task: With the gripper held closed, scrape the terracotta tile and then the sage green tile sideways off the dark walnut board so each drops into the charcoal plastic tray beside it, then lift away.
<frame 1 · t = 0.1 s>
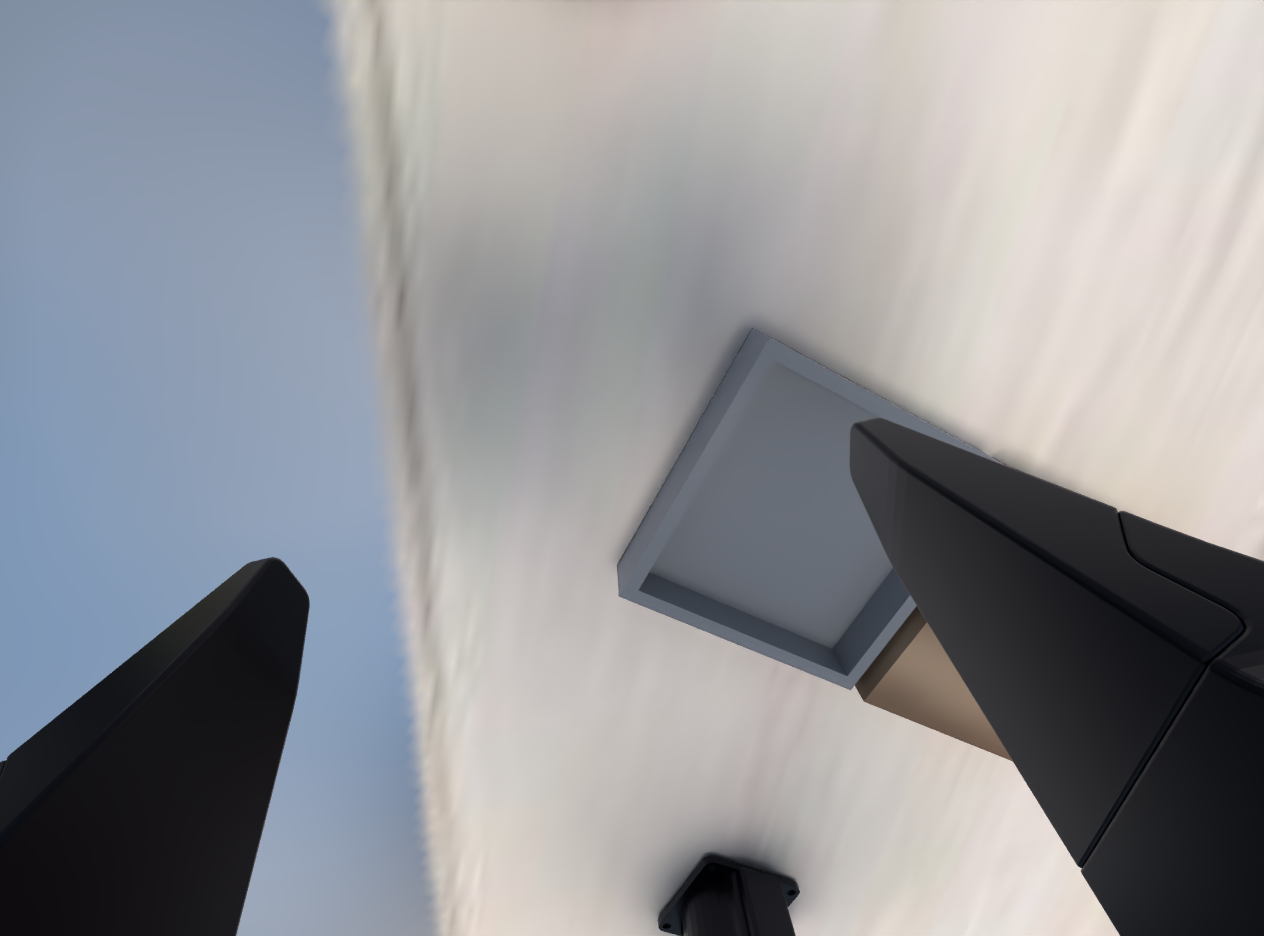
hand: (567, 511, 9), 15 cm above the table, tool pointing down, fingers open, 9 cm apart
walnut board: (1021, 616, 30), on the table
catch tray: (796, 510, 27), on the table
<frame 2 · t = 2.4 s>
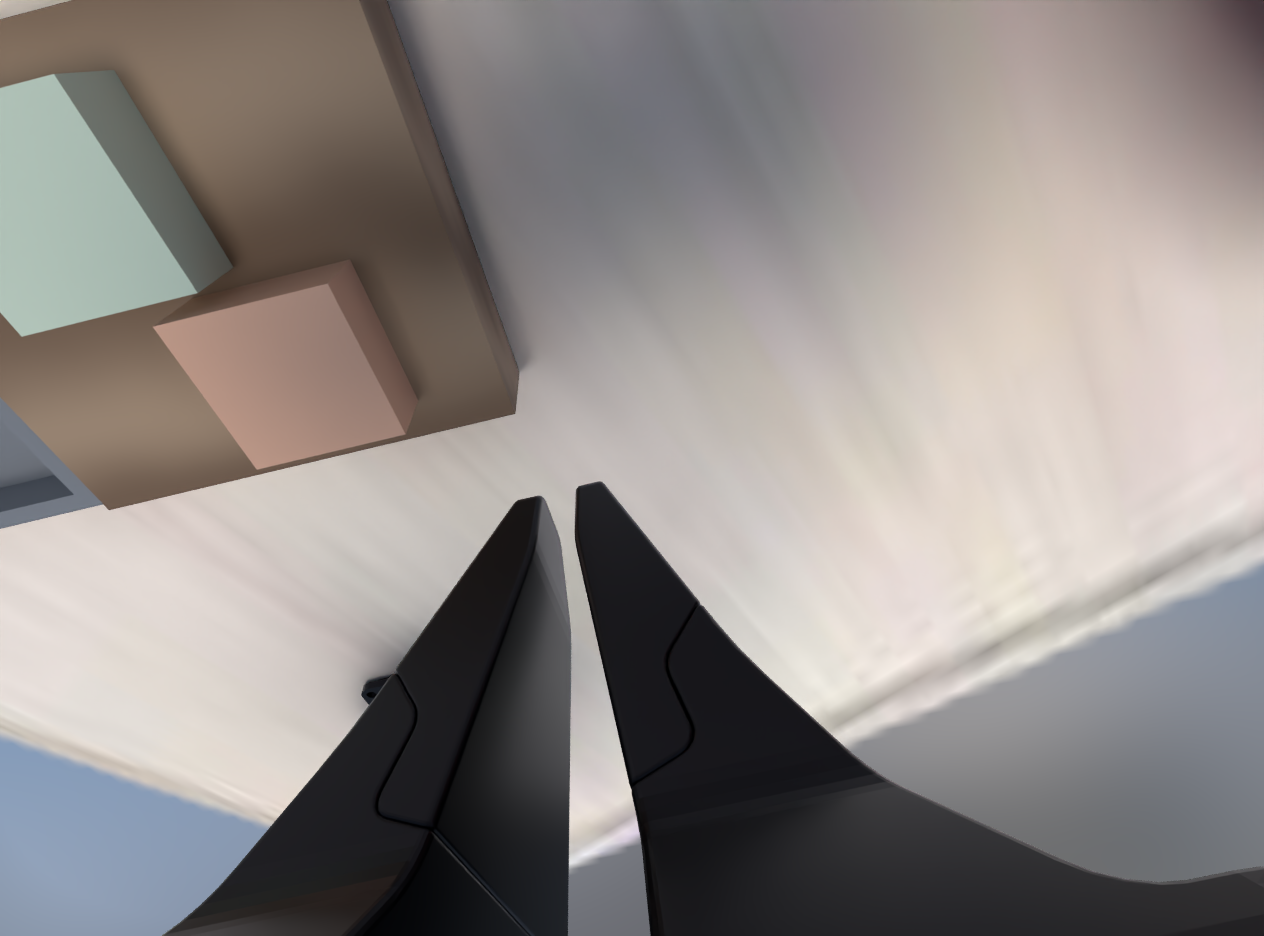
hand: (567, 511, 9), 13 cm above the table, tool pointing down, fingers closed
walnut board: (241, 255, 19), on the table
terracotta tile: (313, 353, 18), point 3 cm above the table, touching walnut board
sage tile: (92, 199, 15), point 3 cm above the table, touching walnut board
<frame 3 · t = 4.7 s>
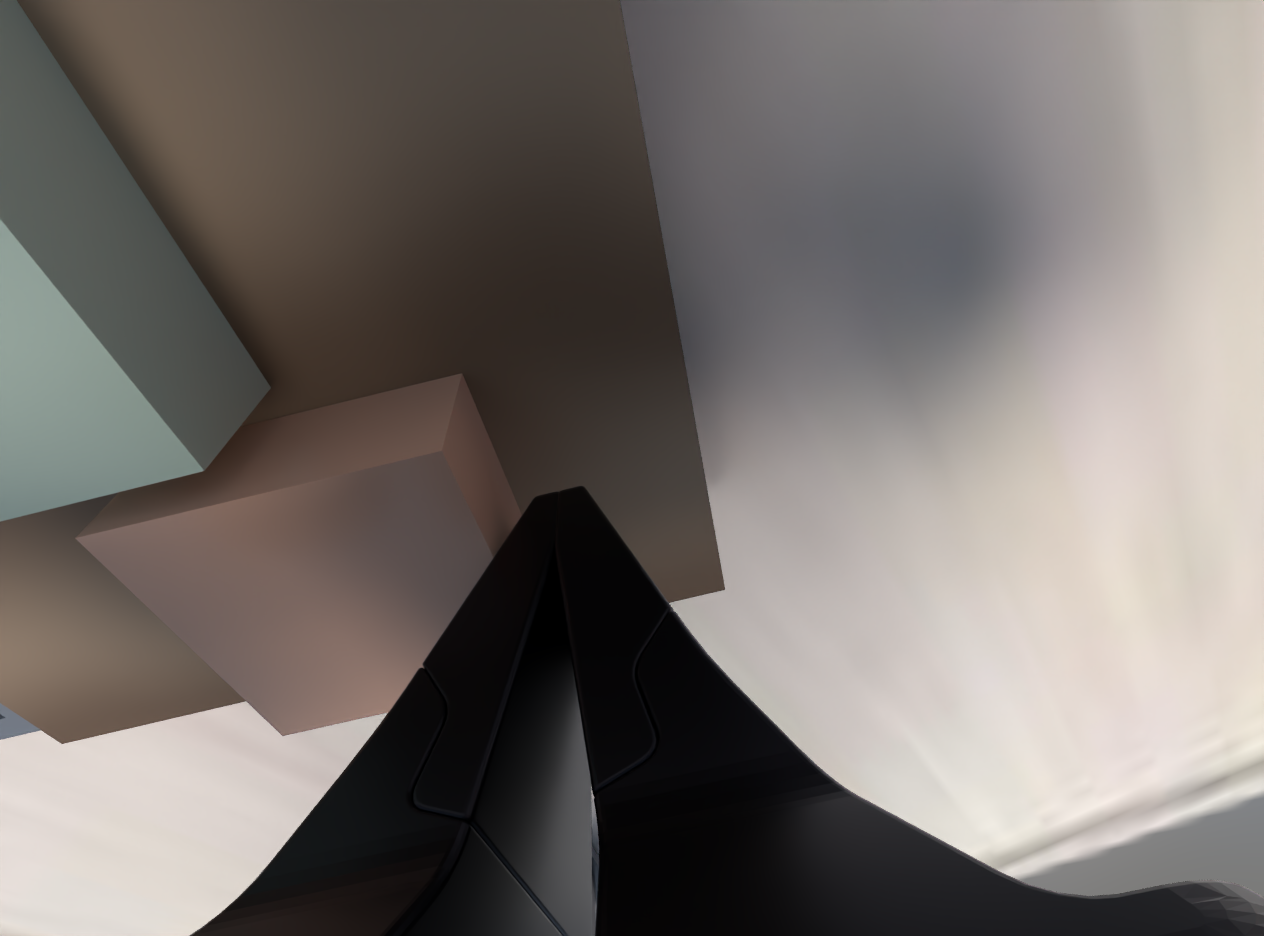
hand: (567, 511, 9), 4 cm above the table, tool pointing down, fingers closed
walnut board: (275, 338, 11), on the table
terracotta tile: (381, 523, 10), point 3 cm above the table, touching gripper
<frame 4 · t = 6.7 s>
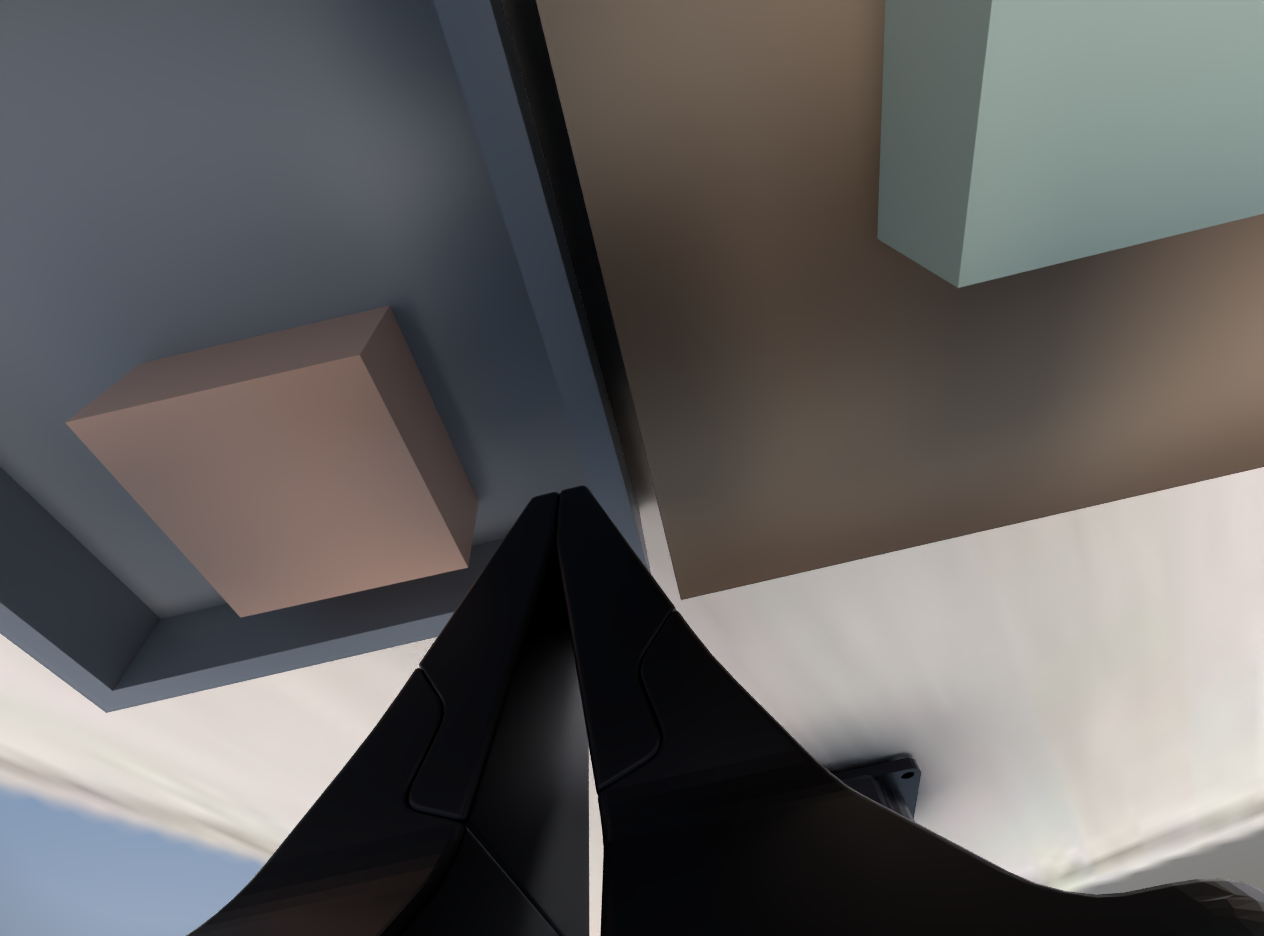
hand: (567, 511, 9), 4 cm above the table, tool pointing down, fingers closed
walnut board: (983, 162, 11), on the table
terracotta tile: (291, 504, 10), point 3 cm above the table, tilted 180°, touching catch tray
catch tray: (258, 343, 11), on the table
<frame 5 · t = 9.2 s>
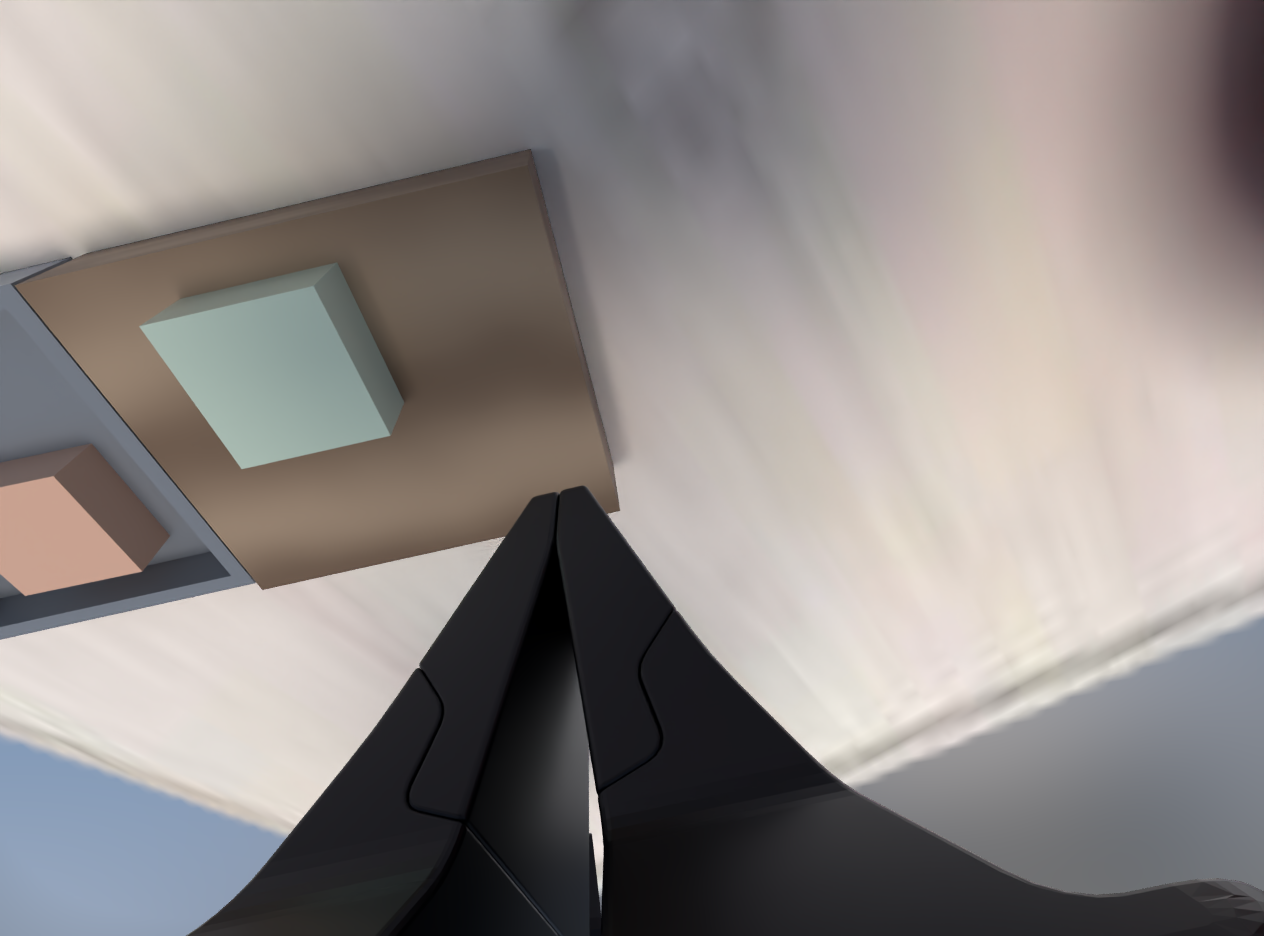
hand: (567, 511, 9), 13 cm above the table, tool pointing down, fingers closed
walnut board: (390, 376, 22), on the table
terracotta tile: (38, 539, 21), point 3 cm above the table, tilted 180°, touching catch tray
sage tile: (299, 354, 18), point 3 cm above the table, touching walnut board
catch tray: (34, 457, 22), on the table
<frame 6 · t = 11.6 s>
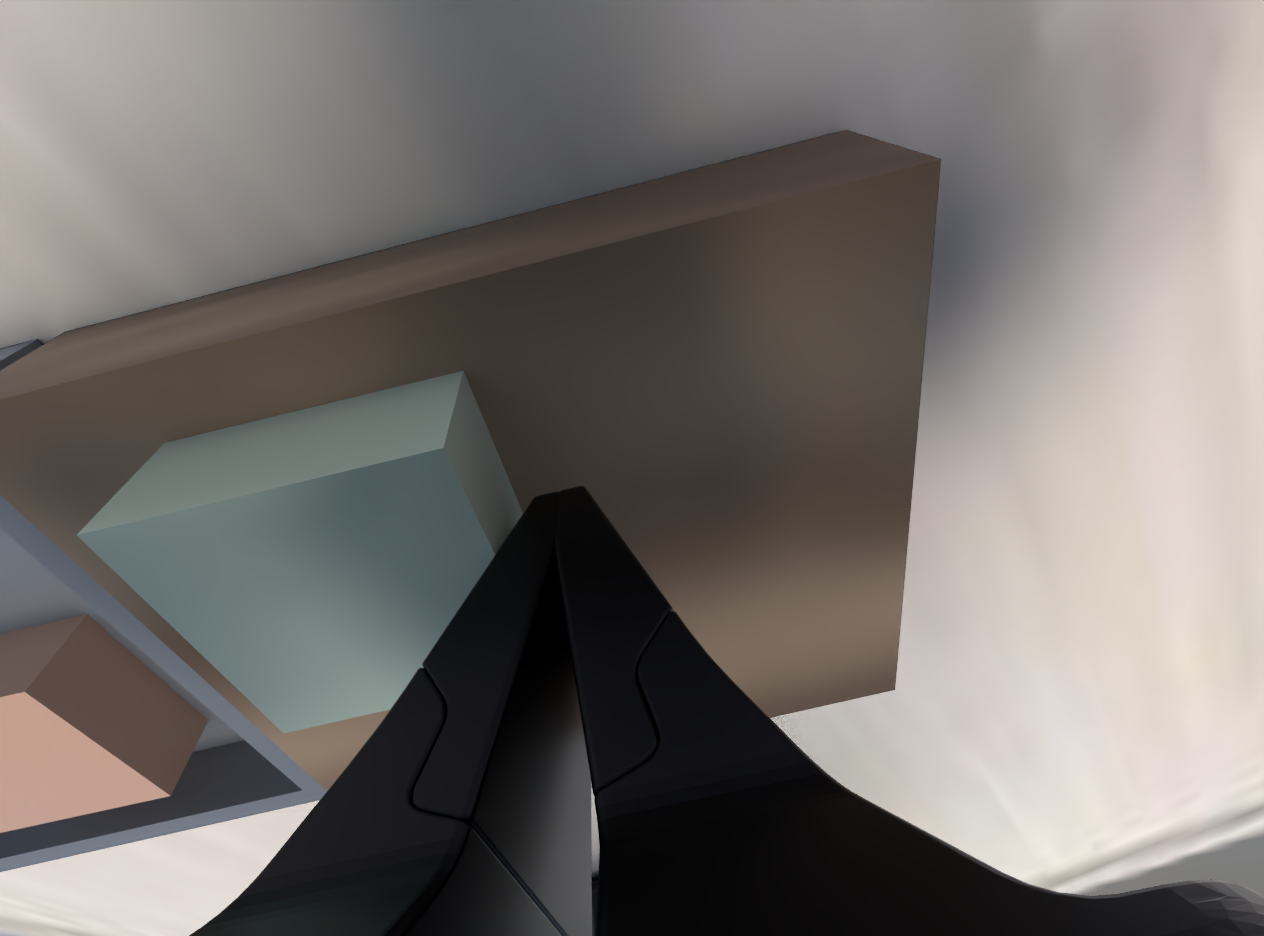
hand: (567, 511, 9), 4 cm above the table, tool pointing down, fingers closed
walnut board: (547, 496, 14), on the table
terracotta tile: (8, 770, 13), point 3 cm above the table, tilted 180°, touching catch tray
sage tile: (382, 521, 10), point 3 cm above the table, touching gripper
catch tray: (1, 628, 14), on the table
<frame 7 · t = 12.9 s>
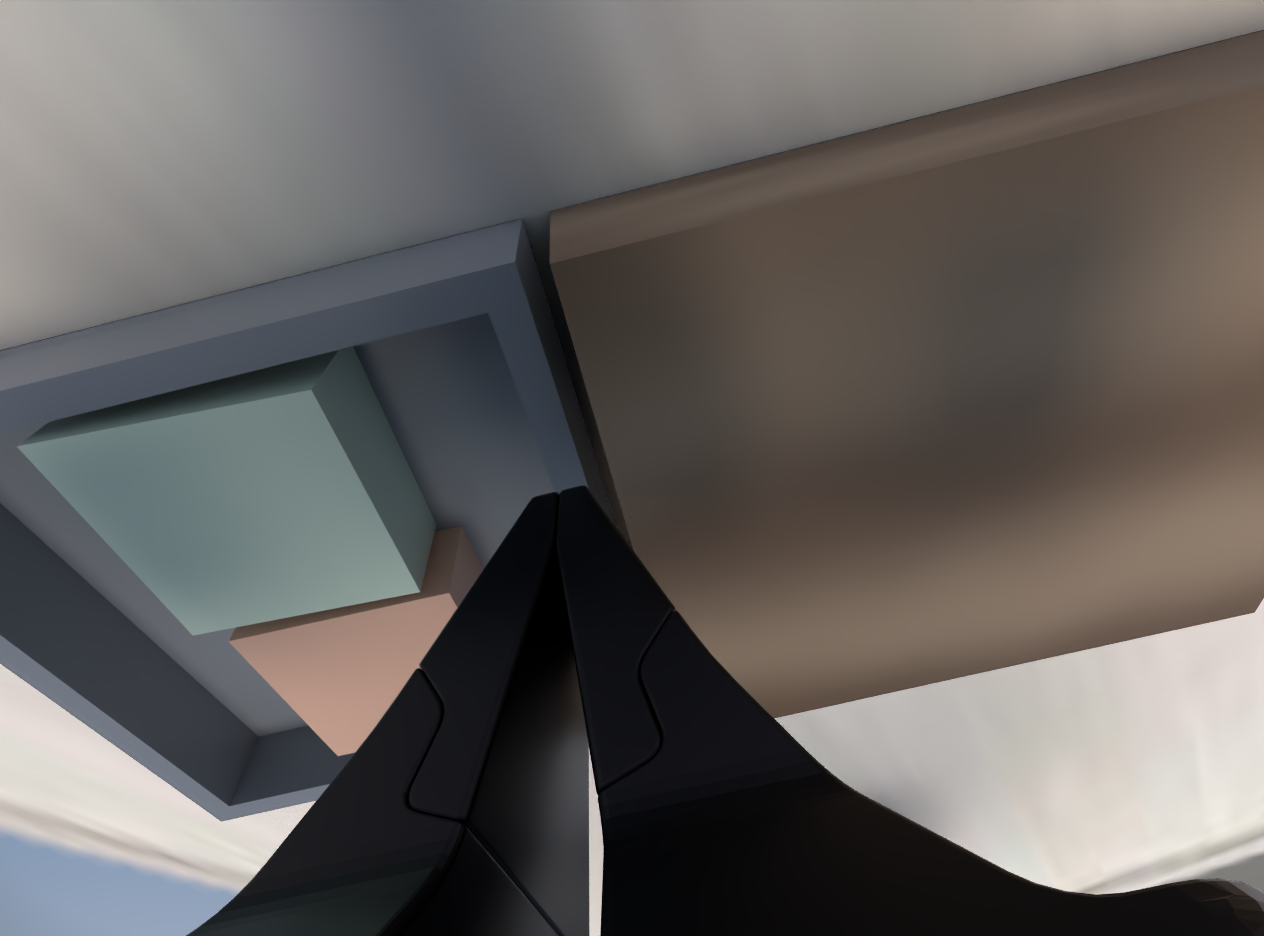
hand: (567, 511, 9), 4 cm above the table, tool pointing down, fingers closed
walnut board: (924, 409, 14), on the table
terracotta tile: (387, 683, 13), point 3 cm above the table, tilted 180°, touching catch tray
sage tile: (244, 528, 10), point 3 cm above the table, tilted 180°, touching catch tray
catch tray: (355, 543, 14), on the table
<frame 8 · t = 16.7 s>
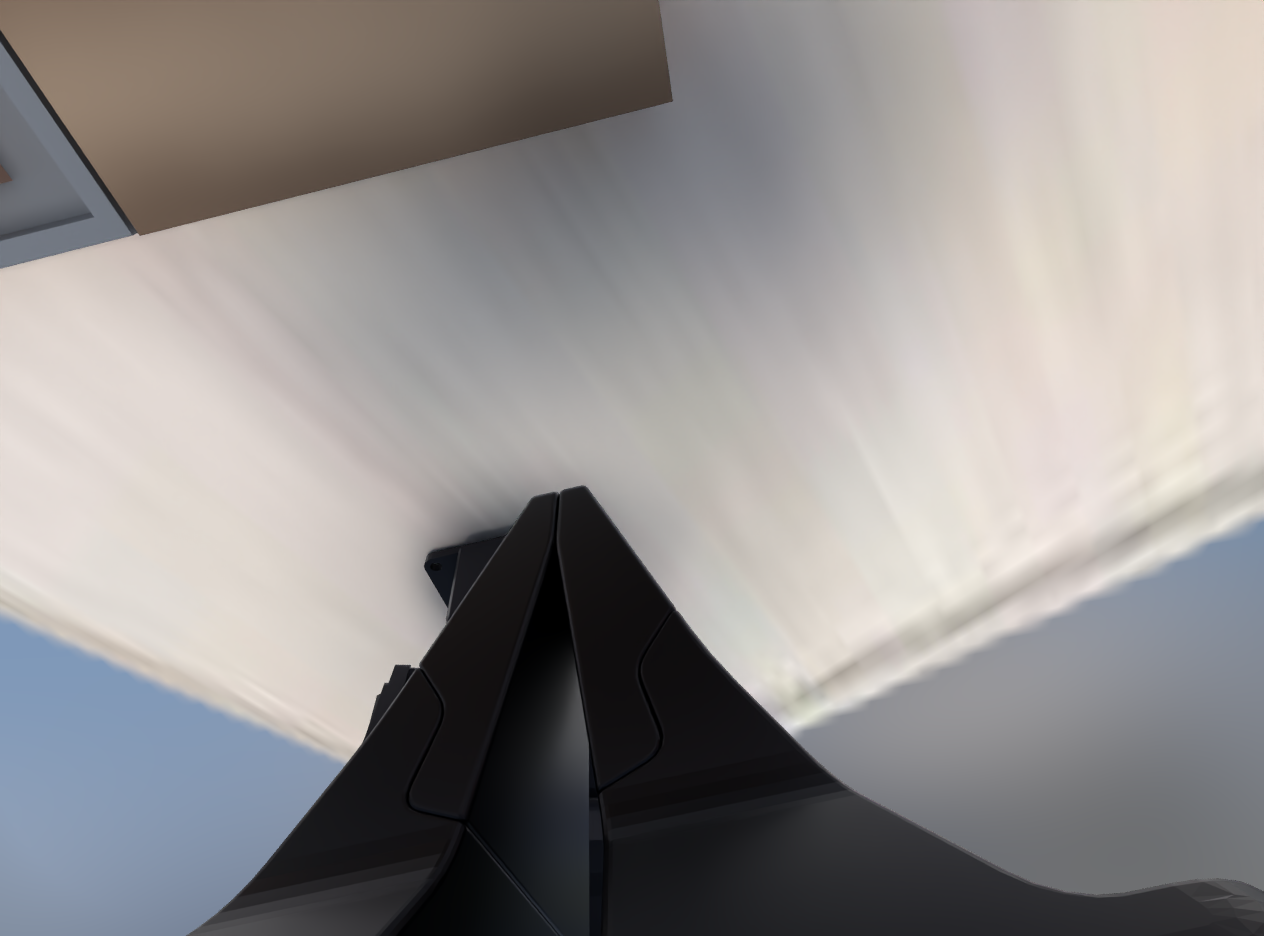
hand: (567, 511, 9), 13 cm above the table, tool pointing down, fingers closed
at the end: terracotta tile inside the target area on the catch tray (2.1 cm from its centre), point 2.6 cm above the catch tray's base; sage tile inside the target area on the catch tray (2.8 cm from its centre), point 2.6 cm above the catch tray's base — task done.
